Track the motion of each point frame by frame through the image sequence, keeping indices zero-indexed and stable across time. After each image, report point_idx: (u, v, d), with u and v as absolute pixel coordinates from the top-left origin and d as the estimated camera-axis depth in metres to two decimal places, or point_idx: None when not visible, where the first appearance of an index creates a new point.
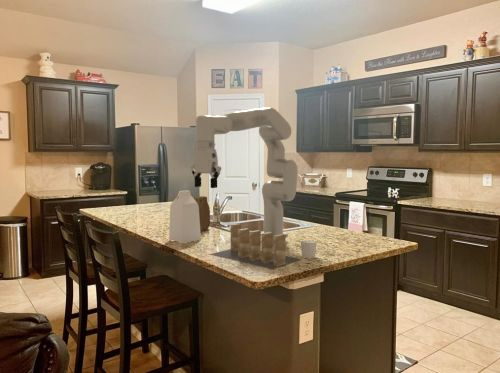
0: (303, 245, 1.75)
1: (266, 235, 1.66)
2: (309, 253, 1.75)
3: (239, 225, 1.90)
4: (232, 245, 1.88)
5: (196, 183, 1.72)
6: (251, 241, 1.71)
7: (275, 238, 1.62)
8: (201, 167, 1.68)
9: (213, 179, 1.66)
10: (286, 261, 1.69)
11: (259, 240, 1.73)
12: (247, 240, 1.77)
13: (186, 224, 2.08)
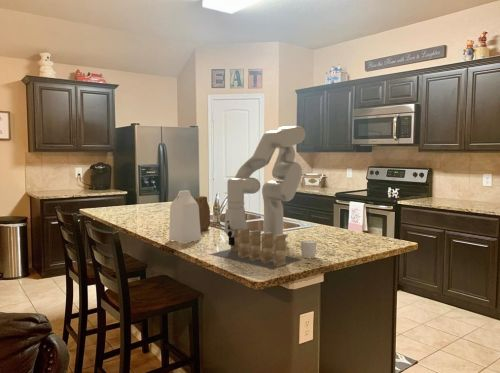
0: (303, 245, 1.75)
1: (266, 235, 1.66)
2: (309, 253, 1.75)
3: None
4: None
5: None
6: (251, 241, 1.71)
7: (275, 238, 1.62)
8: (239, 224, 1.88)
9: None
10: (286, 261, 1.69)
11: (259, 240, 1.73)
12: (247, 240, 1.77)
13: (186, 224, 2.08)
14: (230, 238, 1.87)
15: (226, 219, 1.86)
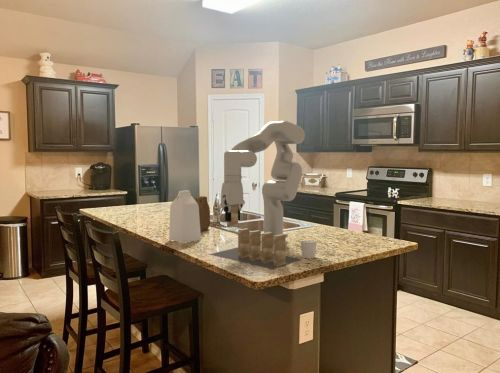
0: (303, 245, 1.75)
1: (266, 235, 1.66)
2: (309, 253, 1.75)
3: None
4: None
5: None
6: (251, 241, 1.71)
7: (275, 238, 1.62)
8: (236, 199, 1.78)
9: None
10: (286, 261, 1.69)
11: (259, 240, 1.73)
12: (247, 240, 1.77)
13: (186, 224, 2.08)
14: (227, 213, 1.77)
15: (222, 193, 1.77)
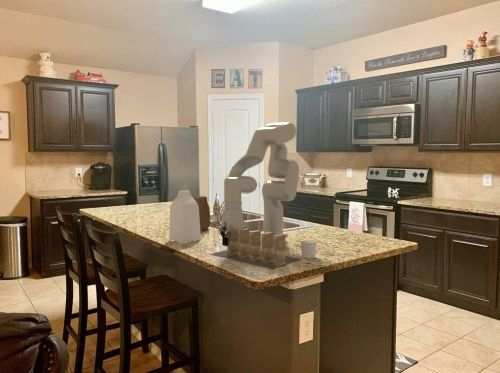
0: (303, 245, 1.75)
1: (266, 235, 1.66)
2: (309, 253, 1.75)
3: None
4: (229, 249, 1.80)
5: None
6: (251, 241, 1.71)
7: (275, 238, 1.62)
8: (236, 225, 1.79)
9: None
10: (286, 261, 1.69)
11: (259, 240, 1.73)
12: (247, 240, 1.77)
13: (186, 224, 2.08)
14: (223, 238, 1.77)
15: (223, 220, 1.78)
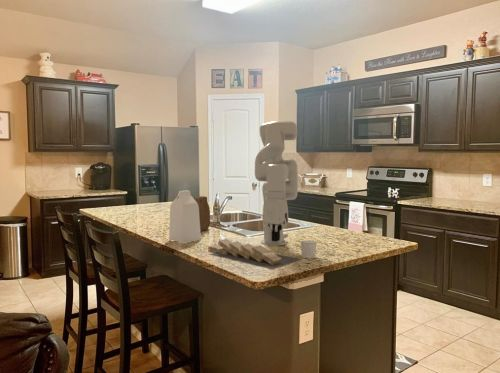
0: (303, 245, 1.75)
1: (243, 245, 1.75)
2: (309, 253, 1.75)
3: (215, 245, 1.91)
4: (222, 251, 1.83)
5: None
6: (235, 248, 1.77)
7: (253, 250, 1.70)
8: None
9: None
10: (286, 261, 1.69)
11: None
12: None
13: (186, 224, 2.08)
14: (278, 232, 1.64)
15: (284, 212, 1.60)
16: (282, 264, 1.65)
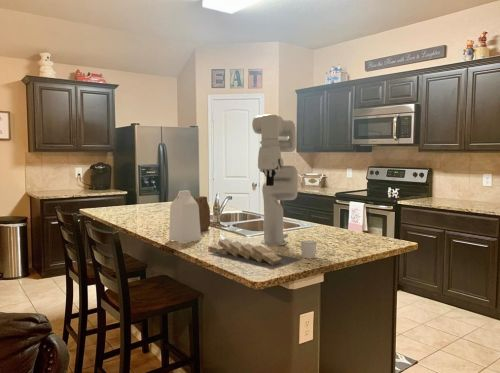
0: (303, 245, 1.75)
1: (243, 245, 1.75)
2: (309, 253, 1.75)
3: (215, 245, 1.91)
4: (222, 251, 1.83)
5: None
6: (235, 248, 1.77)
7: (253, 250, 1.70)
8: None
9: None
10: (286, 261, 1.69)
11: None
12: None
13: (186, 224, 2.08)
14: (272, 178, 1.78)
15: (277, 157, 1.75)
16: (282, 264, 1.65)
